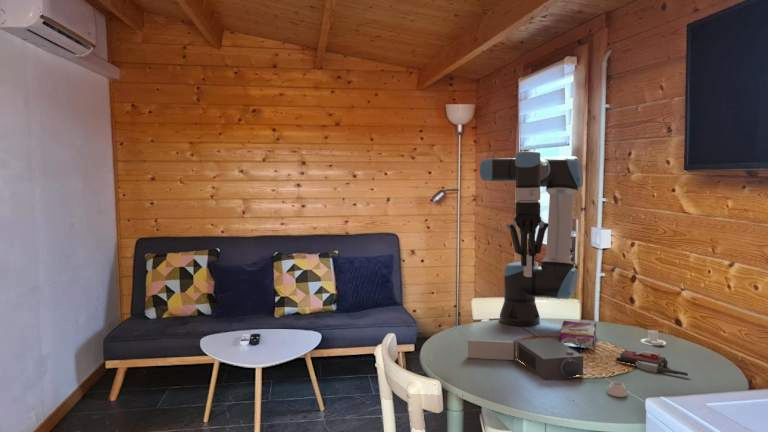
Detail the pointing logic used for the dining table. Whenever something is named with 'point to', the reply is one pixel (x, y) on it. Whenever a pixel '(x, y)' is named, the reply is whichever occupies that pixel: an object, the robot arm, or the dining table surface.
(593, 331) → the candy bar box
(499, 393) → the dining table surface
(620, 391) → the pink dome
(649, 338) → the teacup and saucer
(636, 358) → the walkie-talkie
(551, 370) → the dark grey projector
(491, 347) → the side door
